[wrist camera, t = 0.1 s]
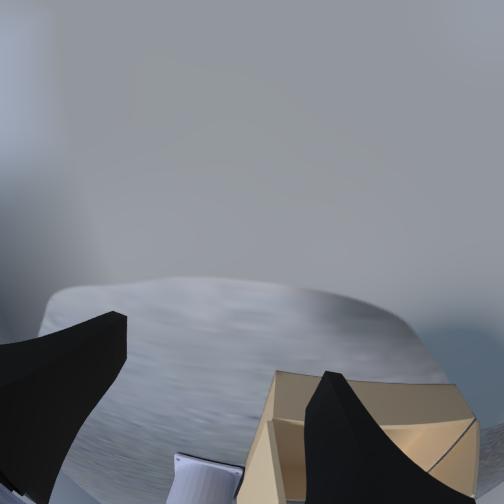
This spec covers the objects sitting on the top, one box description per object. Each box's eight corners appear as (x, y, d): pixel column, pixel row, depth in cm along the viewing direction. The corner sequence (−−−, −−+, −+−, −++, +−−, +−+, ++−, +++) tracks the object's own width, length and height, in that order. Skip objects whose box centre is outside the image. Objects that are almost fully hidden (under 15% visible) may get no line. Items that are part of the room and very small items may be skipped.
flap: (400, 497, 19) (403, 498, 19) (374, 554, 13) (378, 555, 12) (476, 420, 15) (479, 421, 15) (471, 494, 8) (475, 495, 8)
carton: (392, 464, 25) (400, 495, 20) (247, 458, 25) (241, 495, 21) (455, 384, 20) (474, 417, 16) (276, 370, 21) (272, 417, 16)
